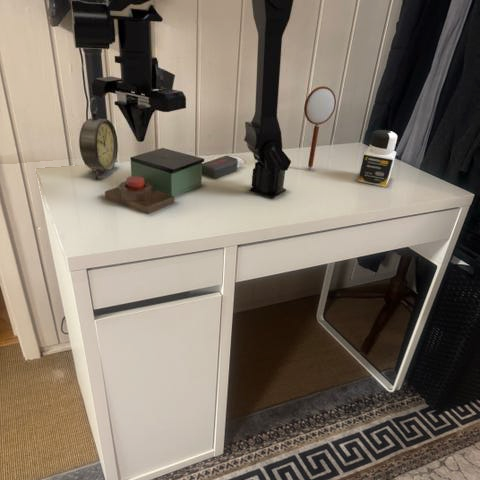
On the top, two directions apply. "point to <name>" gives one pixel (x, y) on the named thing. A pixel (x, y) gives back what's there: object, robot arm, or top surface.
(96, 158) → the alarm clock
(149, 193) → the control block
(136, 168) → the cooker
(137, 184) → the button
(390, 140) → the medicine bottle
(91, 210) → the top surface
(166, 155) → the cooker lid
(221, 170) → the usb drive
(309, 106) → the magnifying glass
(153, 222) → the top surface
